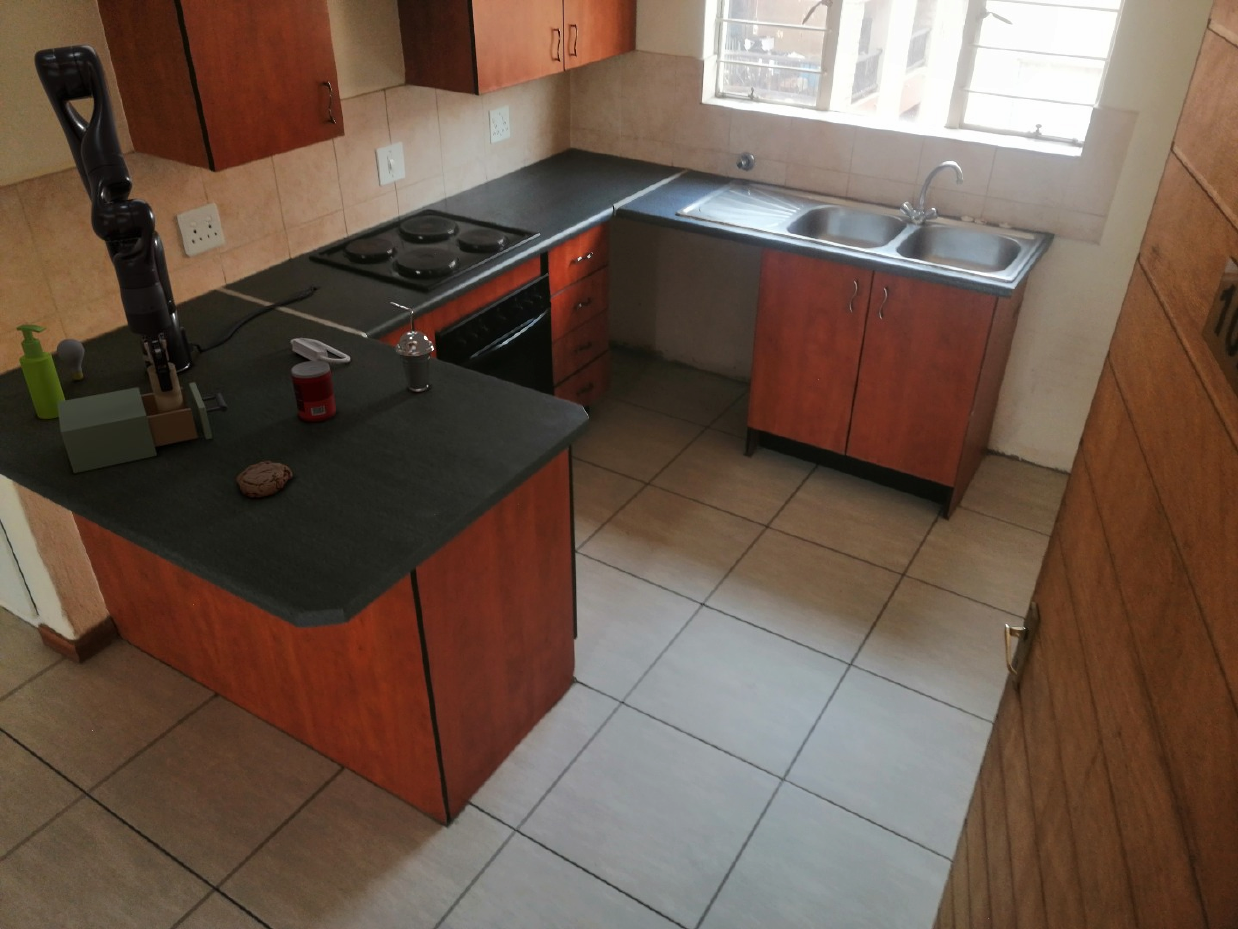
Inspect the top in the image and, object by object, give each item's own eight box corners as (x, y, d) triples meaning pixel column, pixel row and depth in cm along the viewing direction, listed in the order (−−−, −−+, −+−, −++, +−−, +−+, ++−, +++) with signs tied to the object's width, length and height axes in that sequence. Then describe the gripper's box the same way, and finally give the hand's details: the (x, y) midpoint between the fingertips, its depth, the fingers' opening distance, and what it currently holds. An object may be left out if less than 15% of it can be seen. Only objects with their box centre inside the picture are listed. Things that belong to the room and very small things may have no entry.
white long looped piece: (355, 368, 228) (357, 353, 227) (326, 370, 222) (327, 354, 221) (312, 346, 240) (313, 331, 239) (282, 347, 234) (283, 332, 233)
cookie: (240, 502, 172) (237, 488, 170) (236, 475, 180) (233, 462, 179) (296, 492, 175) (294, 478, 174) (290, 466, 184) (287, 452, 182)
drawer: (222, 408, 203) (216, 378, 200) (234, 433, 193) (227, 402, 190) (132, 425, 196) (124, 395, 192) (139, 453, 185) (131, 421, 182)
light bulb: (97, 376, 219) (86, 336, 214) (79, 386, 214) (66, 345, 209) (79, 373, 220) (67, 333, 215) (60, 382, 216) (47, 342, 211)
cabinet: (148, 425, 198) (138, 387, 193) (157, 455, 187) (146, 415, 182) (69, 441, 191) (57, 401, 187) (74, 473, 180) (60, 432, 176)
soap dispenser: (59, 420, 199) (31, 332, 189) (31, 417, 200) (1, 329, 191) (78, 408, 204) (52, 322, 194) (50, 405, 205) (23, 319, 196)
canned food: (344, 410, 205) (337, 364, 200) (319, 425, 199) (311, 378, 193) (316, 403, 208) (308, 357, 202) (291, 418, 201) (282, 371, 196)
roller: (175, 404, 195) (162, 353, 189) (190, 410, 192) (178, 358, 187) (153, 413, 191) (139, 361, 185) (169, 419, 189) (156, 367, 183)
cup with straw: (412, 399, 210) (402, 314, 200) (391, 386, 216) (381, 303, 206) (444, 389, 215) (437, 306, 205) (423, 376, 221) (415, 295, 211)
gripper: (171, 313, 176) (190, 395, 185) (161, 290, 187) (180, 368, 196) (127, 320, 173) (149, 403, 182) (120, 296, 184) (141, 375, 192)
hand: (165, 384), depth 189 cm, fingers closed on roller, 5 cm apart
